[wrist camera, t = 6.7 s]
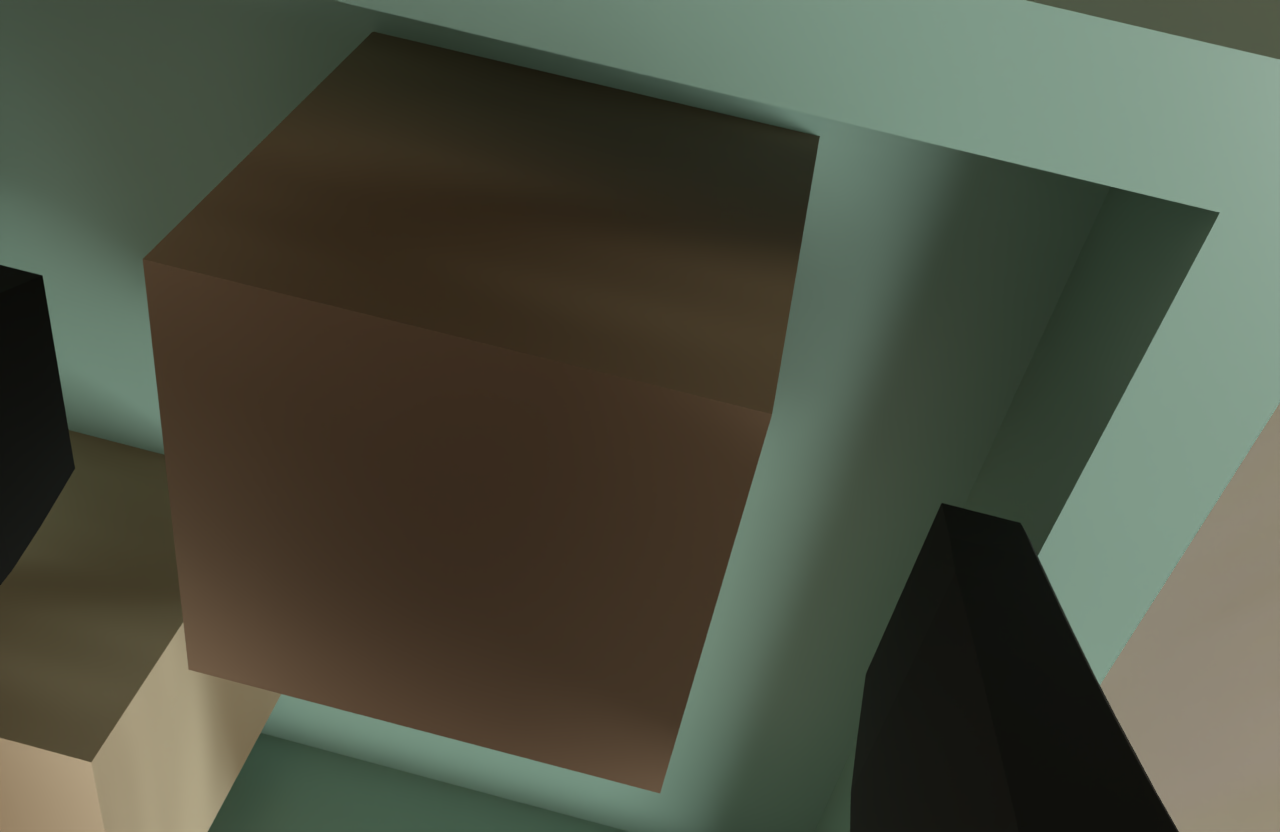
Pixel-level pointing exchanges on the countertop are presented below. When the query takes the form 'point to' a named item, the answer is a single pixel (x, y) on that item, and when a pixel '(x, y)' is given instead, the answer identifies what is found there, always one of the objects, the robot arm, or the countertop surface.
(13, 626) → the beech block in tray
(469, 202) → the walnut block
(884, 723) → the robot arm
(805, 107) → the tray
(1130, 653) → the countertop surface
